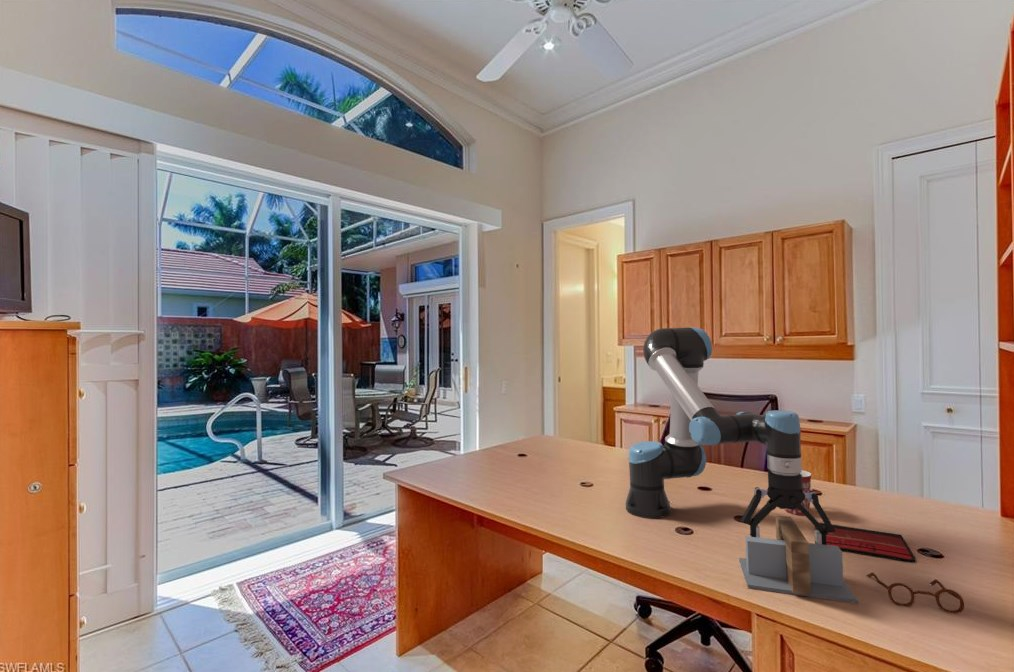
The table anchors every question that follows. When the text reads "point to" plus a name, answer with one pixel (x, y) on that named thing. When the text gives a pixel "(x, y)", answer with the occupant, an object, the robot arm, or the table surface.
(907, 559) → the black and red tablet
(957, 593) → the glasses
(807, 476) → the mug
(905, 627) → the table surface
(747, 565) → the stand board
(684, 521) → the table surface
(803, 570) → the brown rectangular block
